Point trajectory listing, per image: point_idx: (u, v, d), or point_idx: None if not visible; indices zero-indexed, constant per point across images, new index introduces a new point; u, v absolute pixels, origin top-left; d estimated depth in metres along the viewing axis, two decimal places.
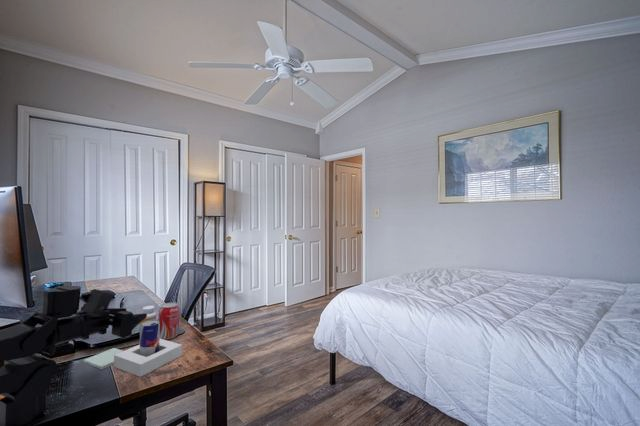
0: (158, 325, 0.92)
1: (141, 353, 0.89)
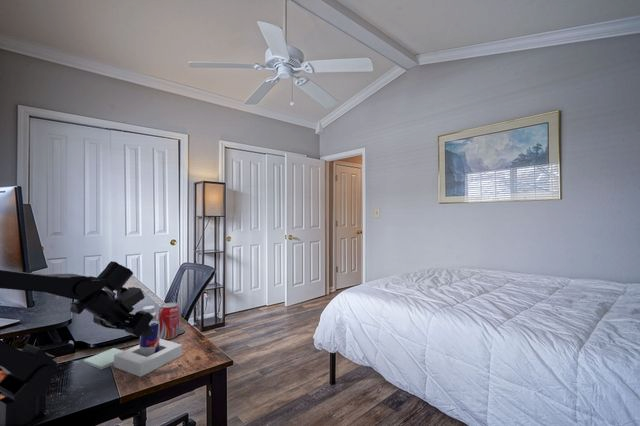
0: (158, 325, 0.92)
1: (141, 353, 0.89)
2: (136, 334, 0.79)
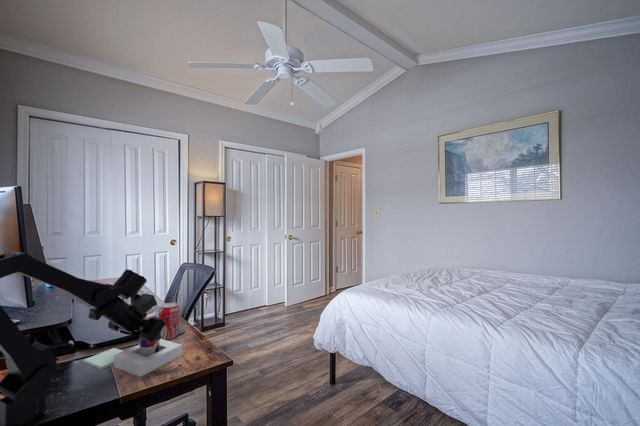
0: None
1: (141, 353, 0.89)
2: (150, 339, 0.82)
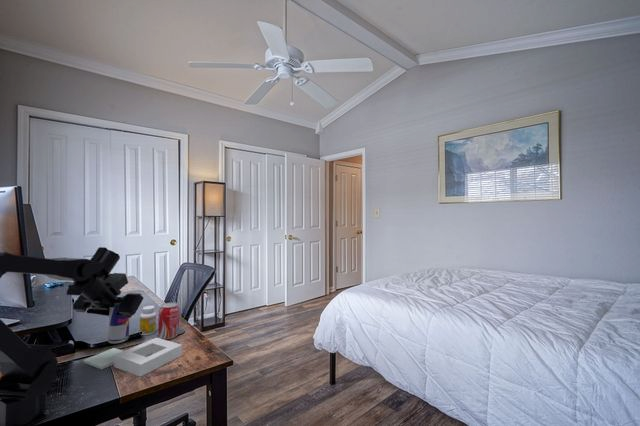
0: None
1: (112, 332, 0.90)
2: (131, 313, 0.85)
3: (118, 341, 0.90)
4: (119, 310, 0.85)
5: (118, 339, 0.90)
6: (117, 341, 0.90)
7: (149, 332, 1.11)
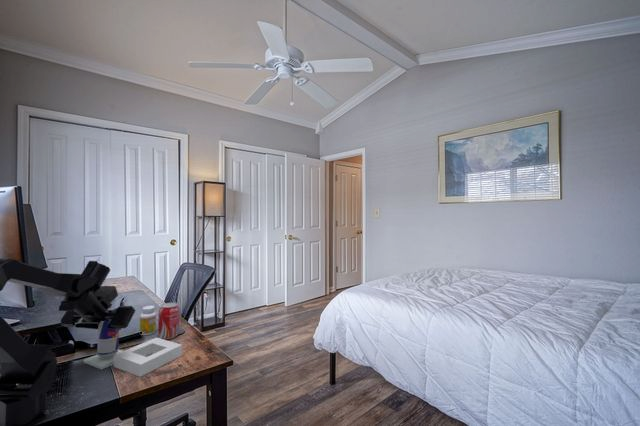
0: None
1: (102, 345, 0.89)
2: (124, 326, 0.85)
3: (108, 354, 0.90)
4: (111, 323, 0.85)
5: (108, 352, 0.90)
6: (107, 354, 0.90)
7: (149, 332, 1.11)
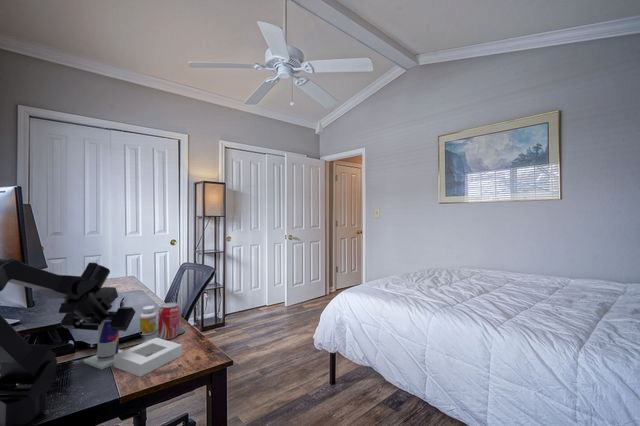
0: None
1: (102, 349, 0.89)
2: (124, 327, 0.86)
3: (108, 358, 0.90)
4: (112, 325, 0.85)
5: (108, 356, 0.90)
6: (107, 358, 0.90)
7: (149, 332, 1.11)
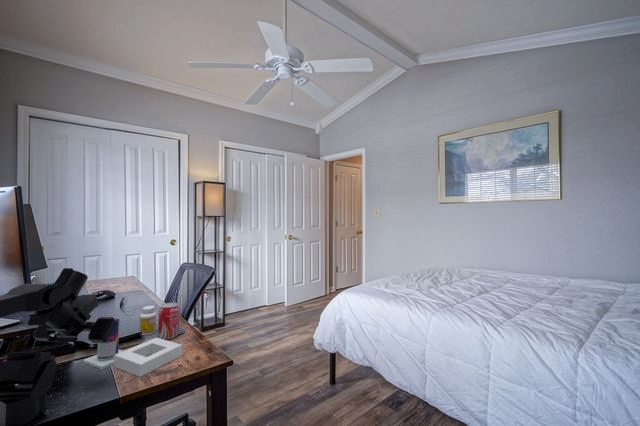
0: (118, 320, 0.93)
1: (102, 349, 0.89)
2: (103, 340, 0.77)
3: (108, 358, 0.90)
4: (89, 337, 0.77)
5: (108, 356, 0.90)
6: (107, 358, 0.90)
7: (149, 332, 1.11)
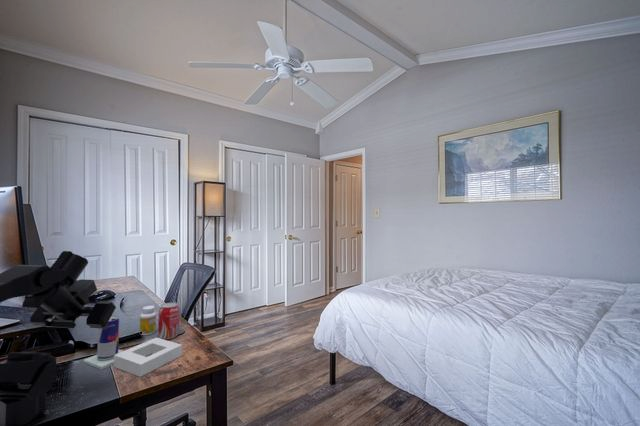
0: (118, 320, 0.93)
1: (102, 349, 0.89)
2: (102, 324, 0.75)
3: (108, 358, 0.90)
4: (87, 322, 0.75)
5: (108, 356, 0.90)
6: (107, 358, 0.90)
7: (149, 332, 1.11)
